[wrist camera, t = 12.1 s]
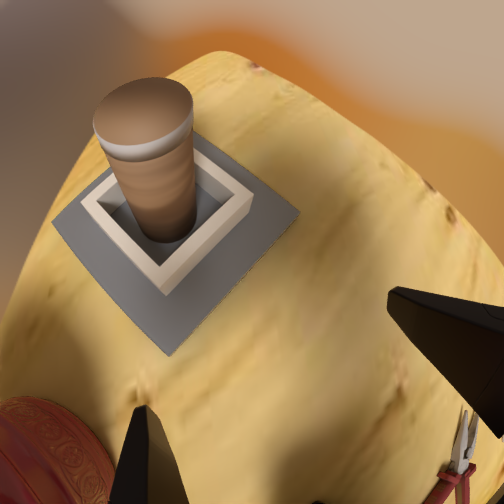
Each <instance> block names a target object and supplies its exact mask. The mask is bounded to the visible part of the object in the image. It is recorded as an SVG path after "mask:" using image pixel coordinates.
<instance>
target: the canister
mask: <svg viewBox="0 0 504 504" xmlns="http://www.w3.org/2000/svg"><path fill="white" fill-rule="evenodd" d="M114 476H115V470H114V467H113V465H112V462H111V460H110V458H109V456H108V454H107V452H106V450H105V449H104V447H103V445H102V444H101V442H100V441H99V440H98V438H97V437H96V436H95V435H94V433H93V432H92V431H91V430H90V429H89V428H88V427H87V426H86V425H85V424H84V423H83V422H82V421H81V420H80V419H79V418H78V417H76V416H75V415H74V414H73V413H71V412H70V411H68V410H67V409H65V408H64V407H62V406H60V405H58V404H56V403H54V402H51V401H48V400H45V399H40V398H35V397H28V396H23V397H14V398H10V399H7V400H5V401H2V402H0V504H108V501H110V500H109V496H110V492H111V488H112V484H113V480H114Z"/></svg>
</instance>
